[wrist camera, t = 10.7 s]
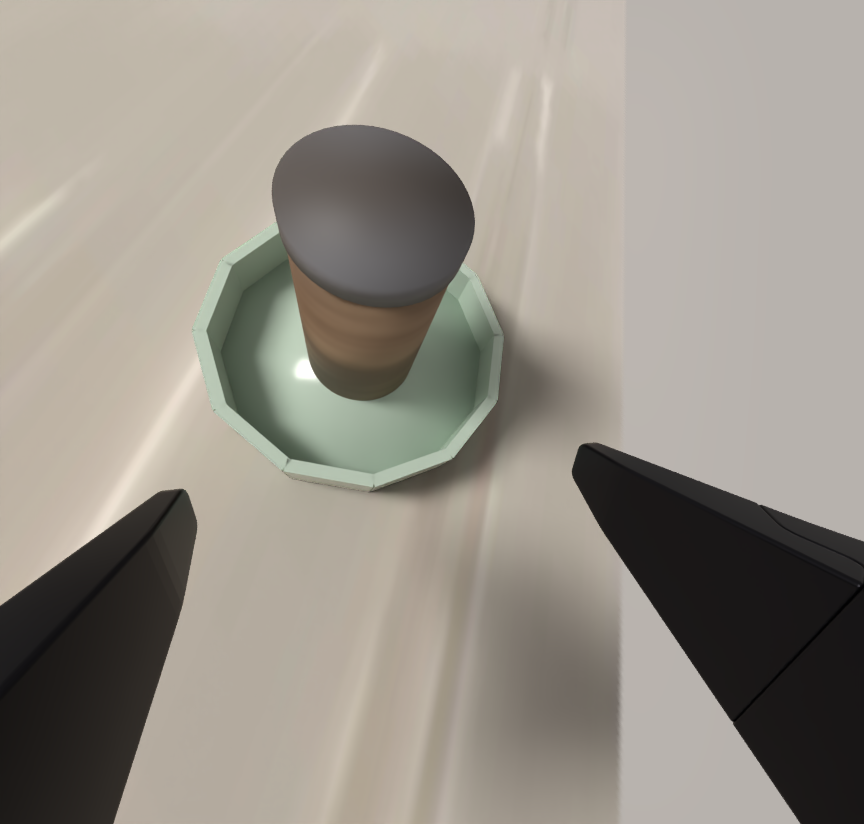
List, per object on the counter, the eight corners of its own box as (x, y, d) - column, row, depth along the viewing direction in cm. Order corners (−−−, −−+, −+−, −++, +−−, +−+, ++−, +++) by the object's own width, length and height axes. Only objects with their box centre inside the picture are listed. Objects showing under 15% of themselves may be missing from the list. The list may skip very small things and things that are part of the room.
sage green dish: (525, 356, 21) (548, 335, 18) (373, 549, 16) (378, 553, 14) (352, 208, 21) (353, 169, 18) (150, 356, 16) (117, 328, 14)
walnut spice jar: (432, 377, 18) (508, 256, 10) (335, 420, 17) (328, 317, 8) (385, 292, 19) (419, 113, 11) (287, 325, 17) (236, 141, 9)
